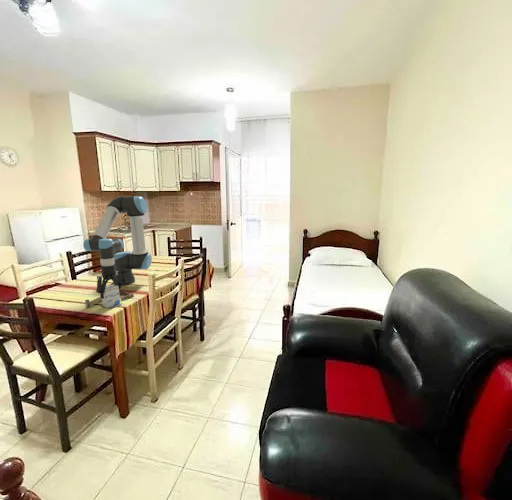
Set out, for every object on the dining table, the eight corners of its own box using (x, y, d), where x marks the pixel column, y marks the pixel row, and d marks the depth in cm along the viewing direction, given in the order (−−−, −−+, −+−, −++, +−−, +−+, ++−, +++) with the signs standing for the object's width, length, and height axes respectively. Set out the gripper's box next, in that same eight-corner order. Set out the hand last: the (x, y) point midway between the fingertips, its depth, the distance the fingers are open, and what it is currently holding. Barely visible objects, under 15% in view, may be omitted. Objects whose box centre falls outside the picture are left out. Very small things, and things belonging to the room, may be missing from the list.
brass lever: (110, 296, 199) (110, 290, 198) (88, 307, 180) (87, 300, 180) (107, 296, 199) (106, 289, 198) (84, 307, 181) (83, 300, 180)
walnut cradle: (119, 292, 208) (119, 285, 207) (133, 296, 201) (133, 289, 199) (102, 298, 197) (101, 291, 196) (116, 302, 190) (115, 295, 189)
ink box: (115, 302, 190) (113, 284, 188) (120, 303, 188) (118, 285, 185) (102, 306, 183) (100, 287, 181) (107, 308, 181) (105, 289, 178)
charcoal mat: (112, 301, 191) (112, 301, 191) (122, 304, 187) (122, 304, 187) (101, 306, 184) (101, 305, 184) (110, 309, 180) (110, 308, 180)
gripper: (119, 260, 191) (122, 294, 196) (86, 267, 173) (90, 305, 178) (127, 261, 187) (130, 296, 192) (94, 269, 169) (98, 307, 174)
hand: (111, 300), depth 185 cm, fingers closed on ink box, 8 cm apart
